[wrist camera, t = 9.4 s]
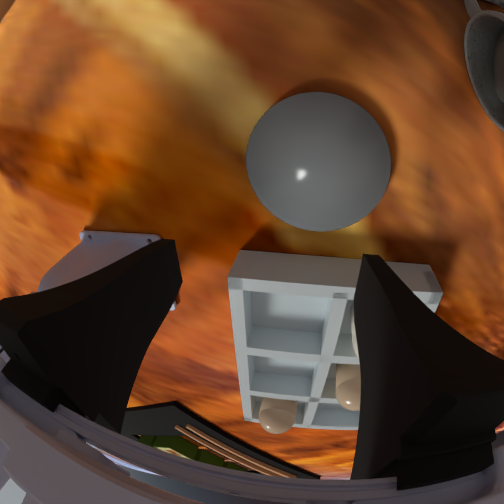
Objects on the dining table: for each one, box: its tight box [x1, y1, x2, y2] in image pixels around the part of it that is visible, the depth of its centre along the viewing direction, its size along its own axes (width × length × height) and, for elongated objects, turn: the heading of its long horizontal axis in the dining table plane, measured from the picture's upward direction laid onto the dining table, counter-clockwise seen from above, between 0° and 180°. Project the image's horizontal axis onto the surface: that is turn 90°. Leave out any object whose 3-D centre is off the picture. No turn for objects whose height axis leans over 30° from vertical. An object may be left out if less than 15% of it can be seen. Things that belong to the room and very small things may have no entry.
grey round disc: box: [246, 92, 391, 231], centre depth 17 cm, size 9×9×1 cm
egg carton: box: [227, 250, 443, 430], centre depth 25 cm, size 15×22×4 cm
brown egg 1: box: [259, 397, 298, 434], centre depth 27 cm, size 4×4×5 cm
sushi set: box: [121, 401, 320, 480], centre depth 54 cm, size 45×45×4 cm
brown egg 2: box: [336, 363, 361, 411], centre depth 22 cm, size 4×4×5 cm
